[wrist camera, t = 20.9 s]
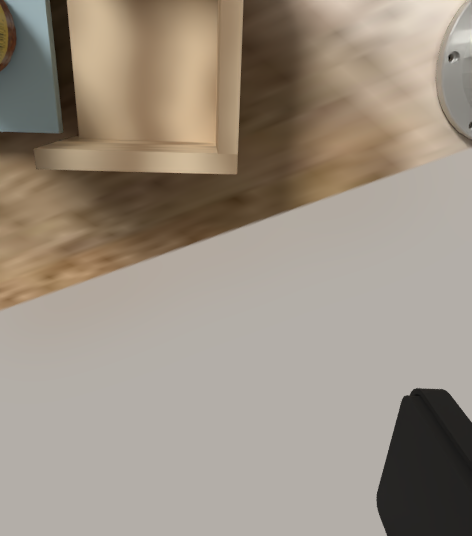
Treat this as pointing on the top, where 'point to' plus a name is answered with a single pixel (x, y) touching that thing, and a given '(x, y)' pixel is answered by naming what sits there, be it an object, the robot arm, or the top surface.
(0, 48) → the sauce bottle
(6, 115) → the door
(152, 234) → the top surface
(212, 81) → the cabinet
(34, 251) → the top surface
